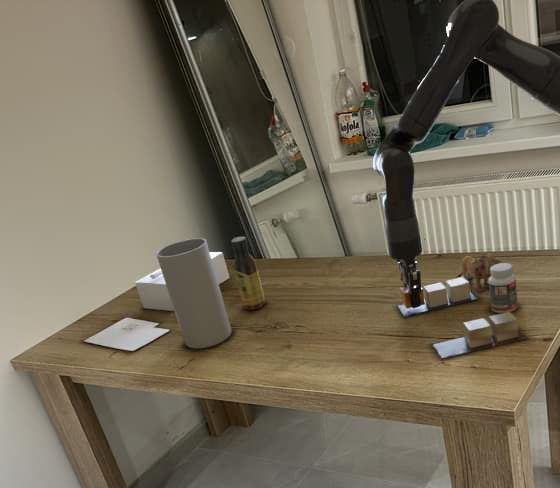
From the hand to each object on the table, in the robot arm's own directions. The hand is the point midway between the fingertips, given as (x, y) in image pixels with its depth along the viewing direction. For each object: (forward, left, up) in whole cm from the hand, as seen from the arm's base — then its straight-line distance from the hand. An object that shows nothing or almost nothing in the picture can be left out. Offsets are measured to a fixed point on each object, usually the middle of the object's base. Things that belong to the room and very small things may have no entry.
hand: (413, 303), depth 163 cm
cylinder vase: (+52, -12, -2) cm, 53 cm away
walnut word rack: (-7, +25, -2) cm, 26 cm away
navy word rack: (-5, 0, -2) cm, 6 cm away
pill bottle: (-18, +11, -2) cm, 21 cm away
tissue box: (+60, -53, -2) cm, 80 cm away
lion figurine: (-17, -5, -2) cm, 18 cm away
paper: (+75, -29, -2) cm, 80 cm away
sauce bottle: (+39, -27, -2) cm, 47 cm away
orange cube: (0, 0, 0) cm, 0 cm away
